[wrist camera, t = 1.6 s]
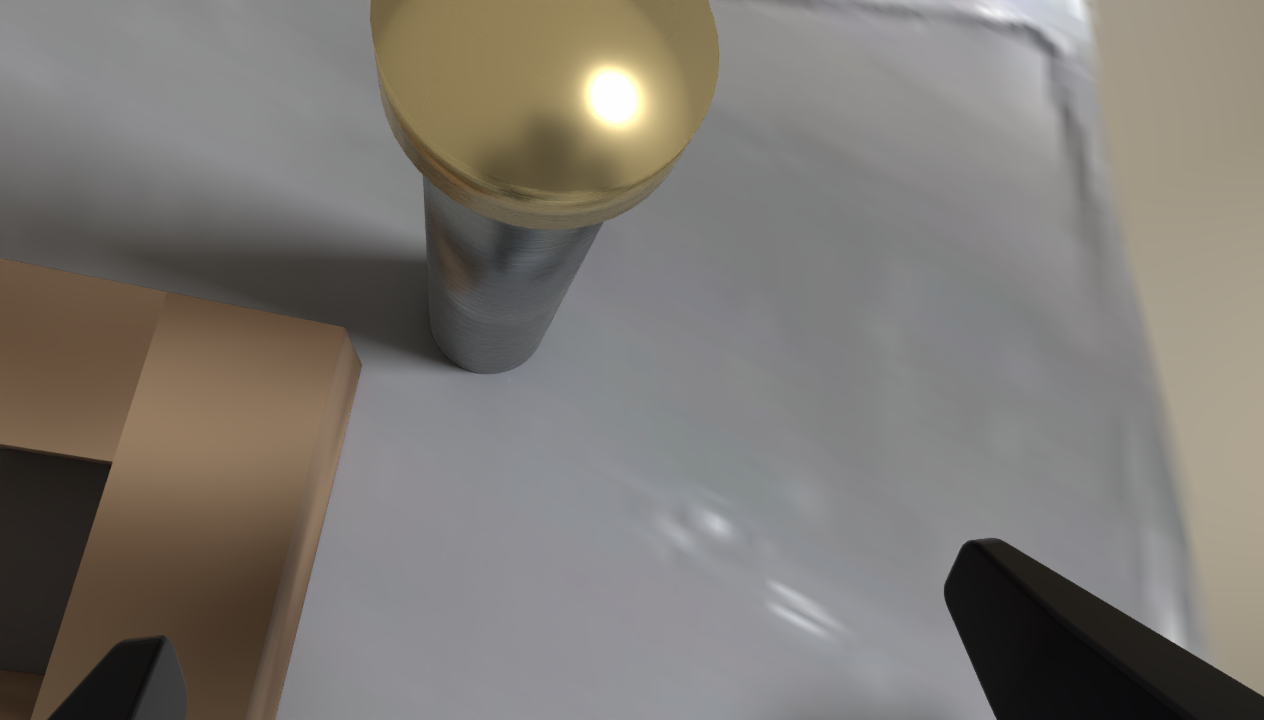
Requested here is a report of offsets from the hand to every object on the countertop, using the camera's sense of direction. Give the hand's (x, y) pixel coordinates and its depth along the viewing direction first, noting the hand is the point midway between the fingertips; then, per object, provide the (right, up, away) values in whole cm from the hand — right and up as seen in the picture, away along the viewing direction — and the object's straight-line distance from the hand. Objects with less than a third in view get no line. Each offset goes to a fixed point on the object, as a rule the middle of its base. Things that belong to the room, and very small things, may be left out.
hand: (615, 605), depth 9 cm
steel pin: (-4, +4, +13) cm, 14 cm away
